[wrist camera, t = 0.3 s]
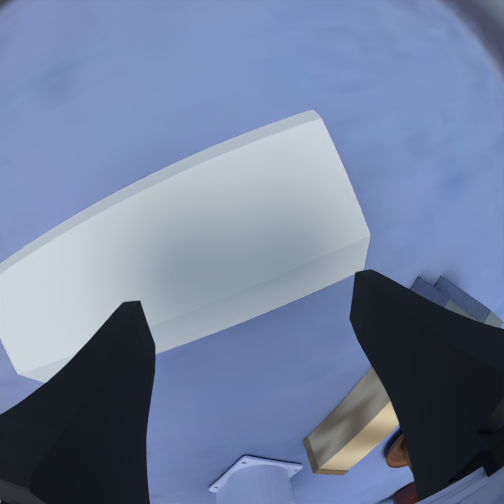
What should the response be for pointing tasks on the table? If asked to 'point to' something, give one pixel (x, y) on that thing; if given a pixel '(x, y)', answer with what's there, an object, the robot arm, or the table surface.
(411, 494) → the mug
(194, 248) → the crown molding
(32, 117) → the table surface
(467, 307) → the bracket
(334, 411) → the tan rectangular block
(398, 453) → the cup and saucer
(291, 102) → the table surface
